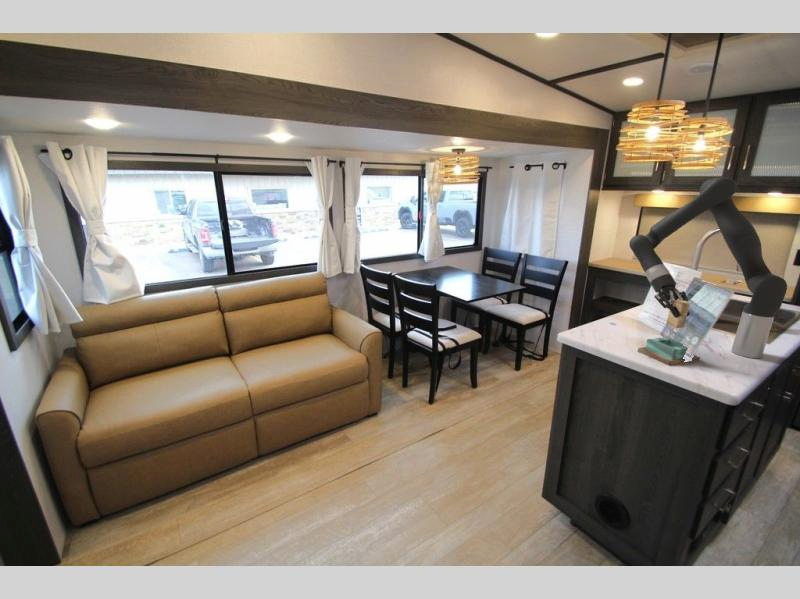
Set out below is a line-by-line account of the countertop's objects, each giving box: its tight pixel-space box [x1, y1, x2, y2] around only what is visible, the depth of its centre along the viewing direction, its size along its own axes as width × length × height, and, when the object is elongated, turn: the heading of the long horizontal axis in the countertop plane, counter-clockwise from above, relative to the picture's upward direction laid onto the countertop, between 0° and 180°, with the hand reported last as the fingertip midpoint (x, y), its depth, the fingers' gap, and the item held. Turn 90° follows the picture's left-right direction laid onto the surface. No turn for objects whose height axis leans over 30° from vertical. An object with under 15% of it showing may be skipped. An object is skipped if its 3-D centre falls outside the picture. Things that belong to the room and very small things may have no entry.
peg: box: [666, 299, 691, 329], centre depth 141 cm, size 4×4×10 cm
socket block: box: [637, 336, 701, 366], centre depth 145 cm, size 16×13×6 cm
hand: (682, 316), depth 139 cm, fingers closed on peg, 4 cm apart
